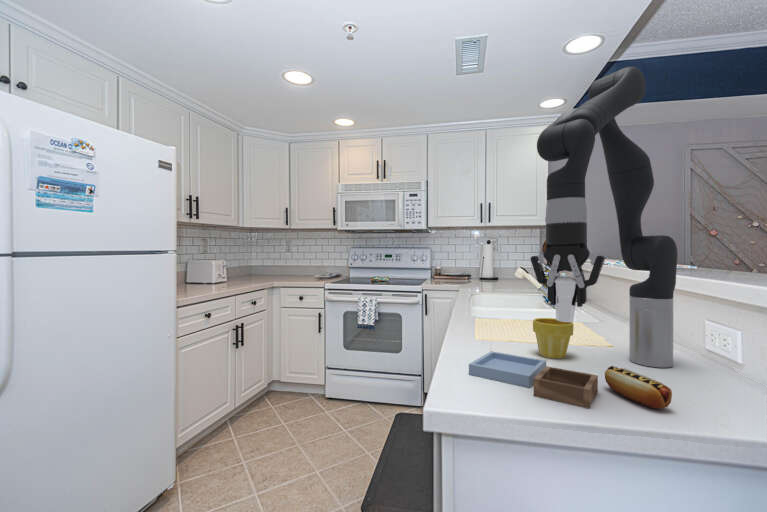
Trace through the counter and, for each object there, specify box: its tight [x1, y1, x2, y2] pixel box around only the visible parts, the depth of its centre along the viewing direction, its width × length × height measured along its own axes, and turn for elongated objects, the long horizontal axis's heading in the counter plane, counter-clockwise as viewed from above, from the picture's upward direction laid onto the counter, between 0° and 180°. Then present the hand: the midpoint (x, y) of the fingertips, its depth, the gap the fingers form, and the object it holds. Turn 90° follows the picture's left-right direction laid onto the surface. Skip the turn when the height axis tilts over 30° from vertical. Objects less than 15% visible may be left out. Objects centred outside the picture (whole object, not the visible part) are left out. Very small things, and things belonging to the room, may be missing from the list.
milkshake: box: [554, 276, 578, 323], centre depth 74 cm, size 4×5×10 cm
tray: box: [468, 351, 547, 388], centre depth 88 cm, size 14×14×2 cm
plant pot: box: [532, 317, 574, 360], centre depth 102 cm, size 10×10×10 cm
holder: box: [533, 365, 599, 410], centre depth 74 cm, size 10×10×4 cm
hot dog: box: [604, 365, 673, 409], centre depth 71 cm, size 5×13×5 cm, turn 10°
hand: (566, 304), depth 74 cm, fingers closed on milkshake, 4 cm apart
